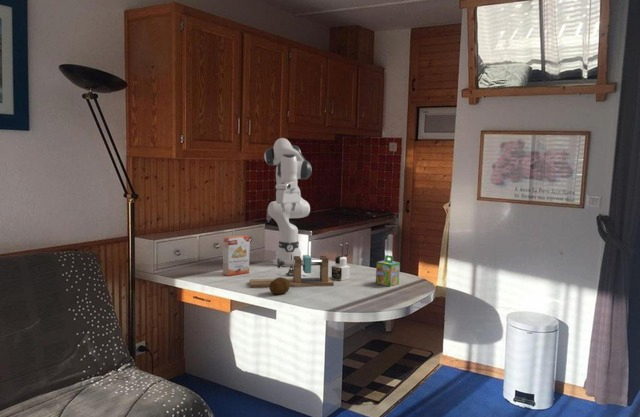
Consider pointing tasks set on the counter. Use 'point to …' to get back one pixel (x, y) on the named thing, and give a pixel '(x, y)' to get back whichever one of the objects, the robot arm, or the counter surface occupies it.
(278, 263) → the shaft
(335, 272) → the medicine bottle
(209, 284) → the counter surface
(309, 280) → the shaft stand
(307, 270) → the teal holed block
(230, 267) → the cracker box
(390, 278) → the chalk box
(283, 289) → the potato
